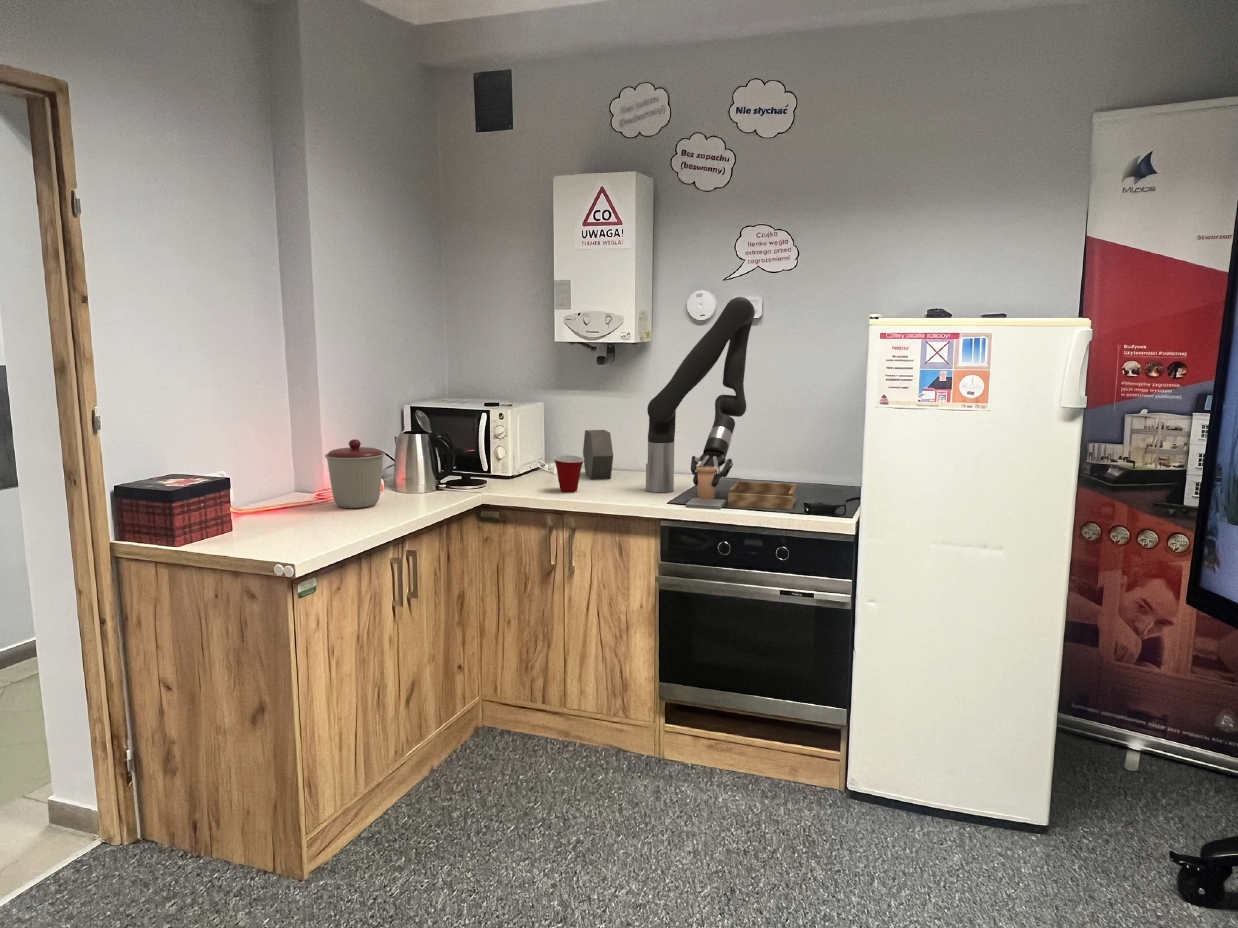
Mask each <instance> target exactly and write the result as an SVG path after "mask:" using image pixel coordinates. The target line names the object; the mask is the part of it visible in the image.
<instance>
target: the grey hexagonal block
mask: <svg viewBox="0 0 1238 928" xmlns="http://www.w3.org/2000/svg"><path fill="white" fill-rule="evenodd" d="M582 456H583V457H582V458H584V459H585V460H584V461H583V464H584V466H583V467H584V472H585V473H584V474H585V476H586V477H587V476H588V477H587V478H589V479H590V480H606V479H607V480H609V479H610V478H612V470H613V462H614V451H613V443H612V435H611V432H610V431H608V430H605V429H585V430H584V438H583V449H582ZM610 480H611V479H610Z"/></svg>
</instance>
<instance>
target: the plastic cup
mask: <svg viewBox="0 0 1238 928" xmlns="http://www.w3.org/2000/svg"><path fill="white" fill-rule="evenodd" d="M553 460H554V463H555V467H556V474H557V481H558V485H559V486H558V487H559V490H560V492H561V491H562V493H576V492H577V490H578V488H579V482H580V476H581V471H582V467H583V464H584V460H585V459H584V458H583V457H582V456H578V455H571V454H563V455H562V454H559V455H555V456H553ZM575 491H576V492H575Z"/></svg>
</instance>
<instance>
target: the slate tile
mask: <svg viewBox="0 0 1238 928" xmlns="http://www.w3.org/2000/svg"><path fill="white" fill-rule="evenodd" d="M726 503H727V501H726V499H716V498H714V499H699V498H697V497H692V498H691V499H690V500H689V501H688V502H686V503H685V508H691V509H692V508H693V509H709V510H712V509H713V510H721V509H722V508H723V507H724V506H725V504H726Z"/></svg>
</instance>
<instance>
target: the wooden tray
mask: <svg viewBox="0 0 1238 928" xmlns="http://www.w3.org/2000/svg"><path fill="white" fill-rule="evenodd" d="M727 497H728V498H727V506H728V507H743V508H757V509H758V508H761V509H772V510H773V509H774V510H775V509H776V510H793V508H794V506H795V503H796V501H797V483H785V482H784V483H782V482H780V483H779V482H765V481H763V482H762V481H741V480H735V483H734V484H733V485H732V486H731V487H730V488H729V490H728V494H727Z"/></svg>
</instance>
